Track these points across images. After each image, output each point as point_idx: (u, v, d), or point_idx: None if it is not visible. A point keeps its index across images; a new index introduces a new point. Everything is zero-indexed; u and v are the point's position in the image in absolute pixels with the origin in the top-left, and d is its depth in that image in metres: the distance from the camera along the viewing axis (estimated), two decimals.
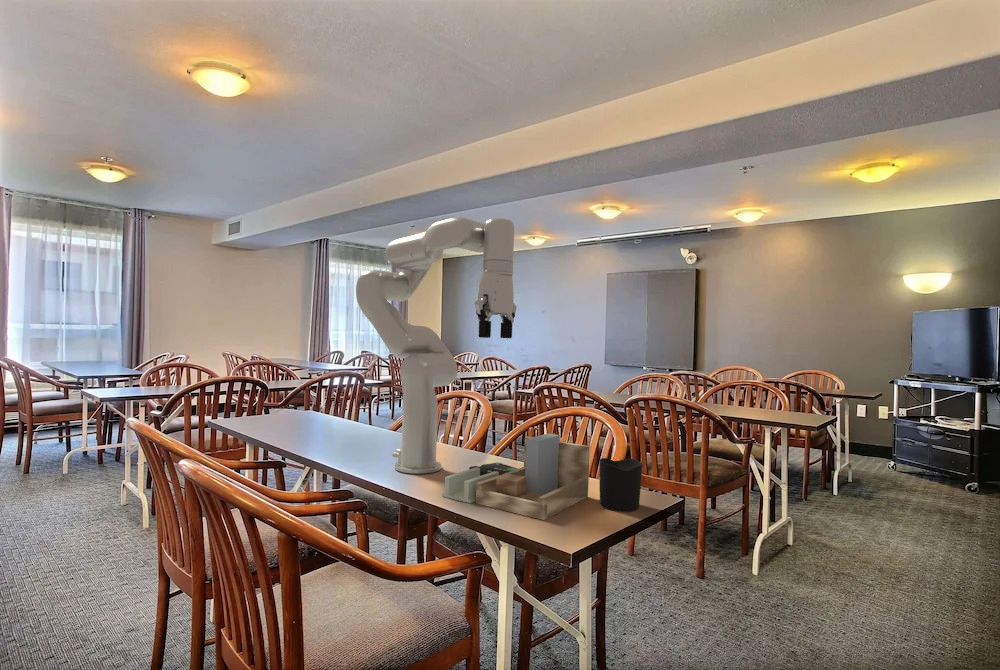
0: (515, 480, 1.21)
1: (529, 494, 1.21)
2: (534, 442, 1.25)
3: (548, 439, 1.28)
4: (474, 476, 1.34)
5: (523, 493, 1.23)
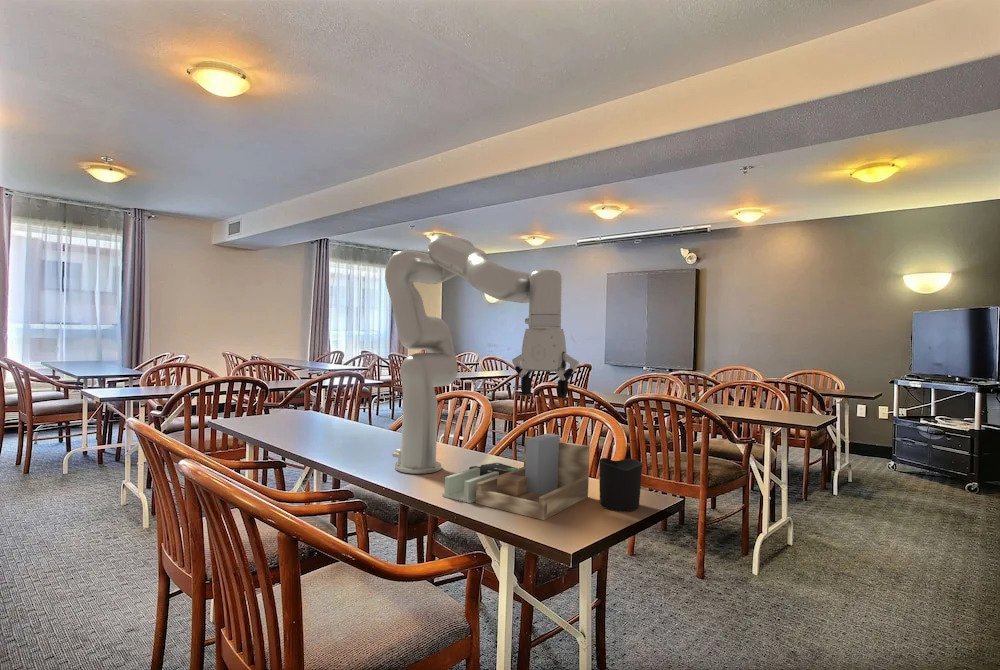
0: (516, 480, 1.21)
1: (529, 494, 1.21)
2: (534, 442, 1.25)
3: (548, 439, 1.28)
4: (474, 476, 1.34)
5: (523, 493, 1.23)
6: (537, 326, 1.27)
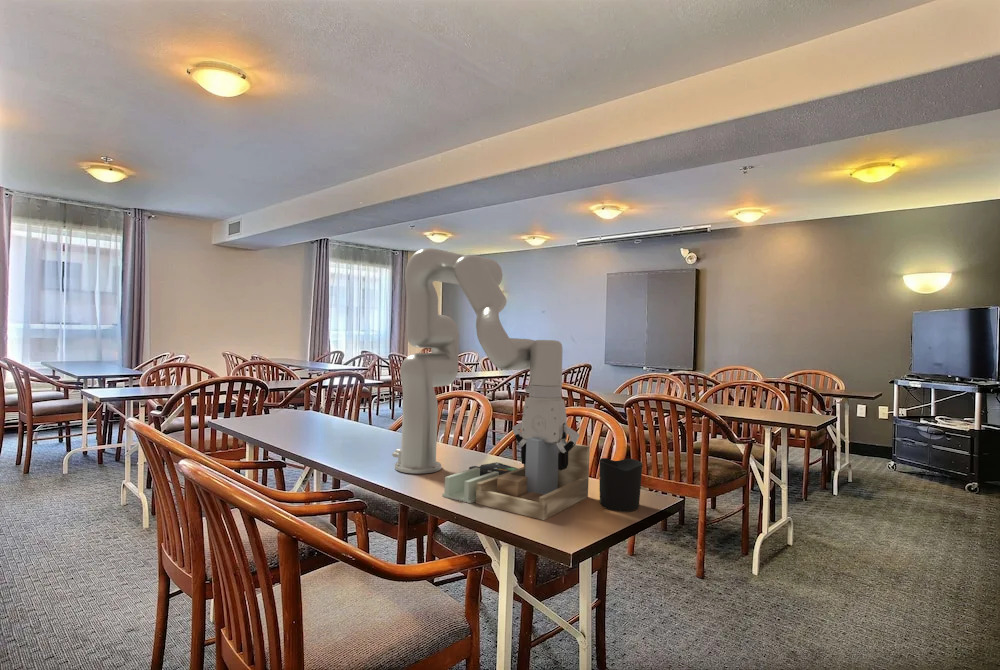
0: (516, 480, 1.21)
1: (529, 494, 1.21)
2: (534, 442, 1.25)
3: None
4: (474, 476, 1.34)
5: (524, 493, 1.23)
6: (538, 398, 1.26)
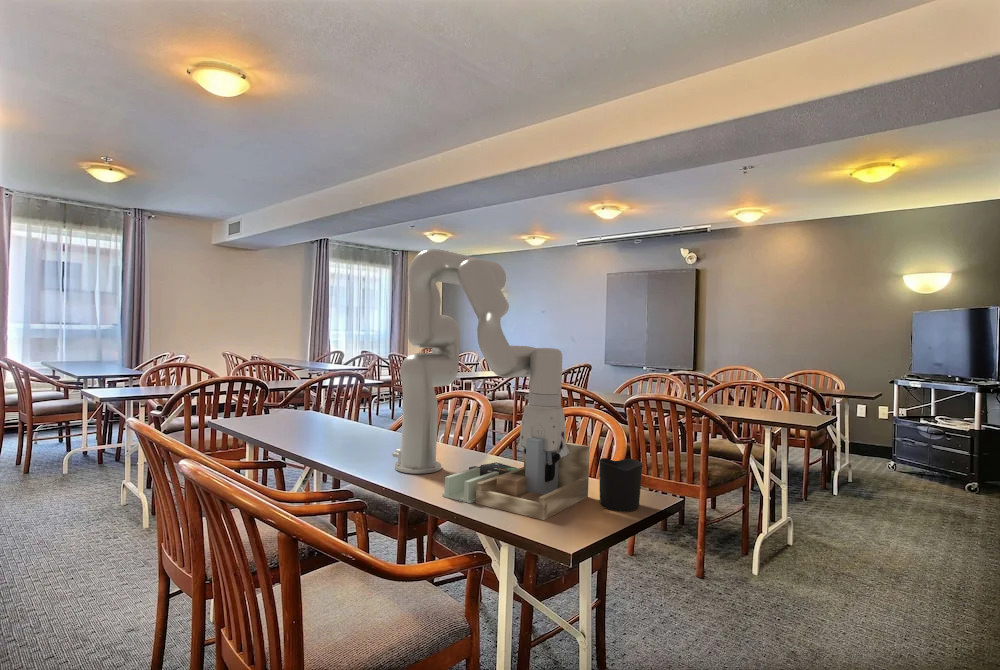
0: (515, 480, 1.21)
1: (529, 494, 1.21)
2: (534, 442, 1.25)
3: None
4: (474, 476, 1.34)
5: (523, 493, 1.23)
6: (537, 406, 1.26)
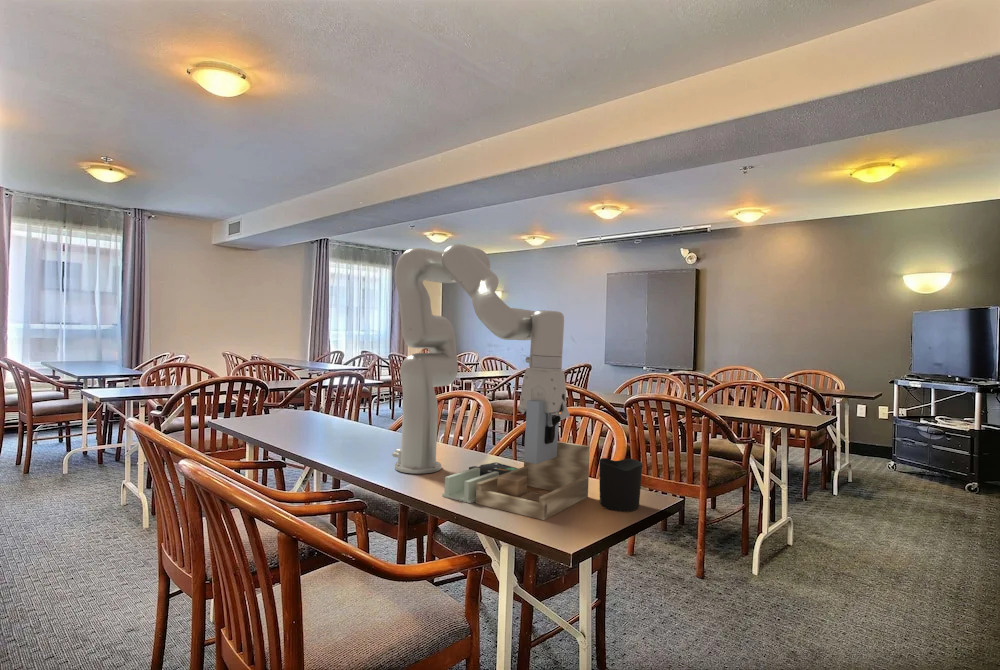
0: (516, 480, 1.21)
1: (528, 494, 1.21)
2: (534, 404, 1.25)
3: None
4: (474, 476, 1.34)
5: (524, 493, 1.23)
6: (538, 368, 1.26)
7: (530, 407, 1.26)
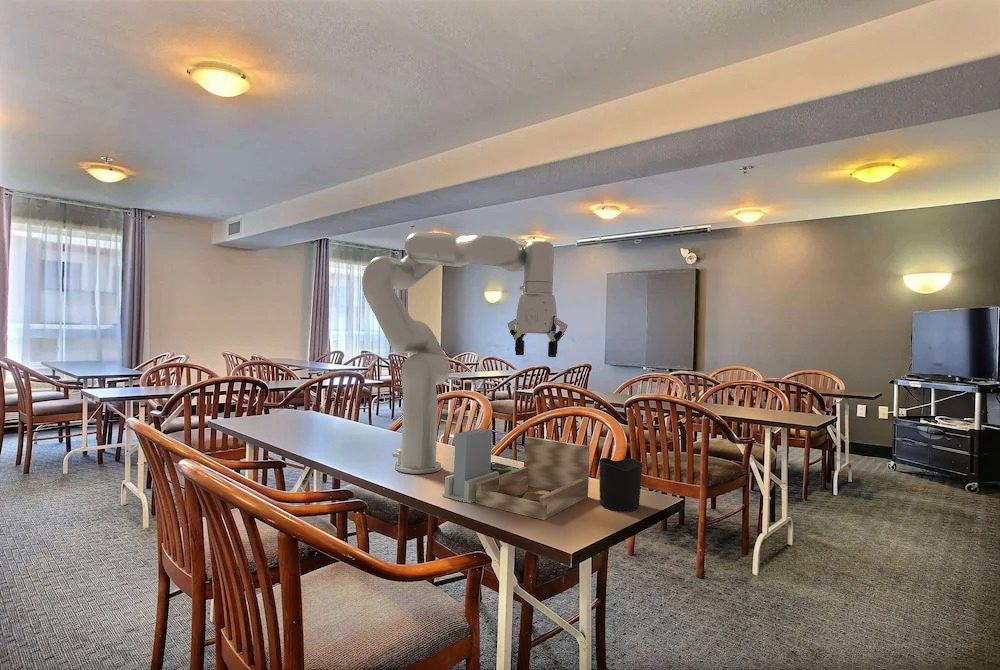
0: (518, 480, 1.21)
1: (528, 495, 1.21)
2: (462, 437, 1.25)
3: (478, 434, 1.28)
4: None
5: (524, 492, 1.23)
6: (531, 292, 1.40)
7: (458, 440, 1.26)
